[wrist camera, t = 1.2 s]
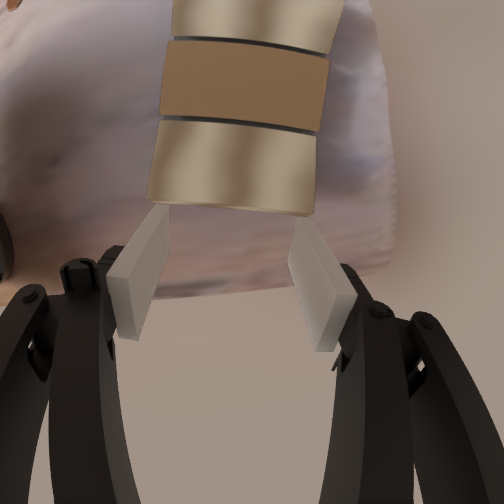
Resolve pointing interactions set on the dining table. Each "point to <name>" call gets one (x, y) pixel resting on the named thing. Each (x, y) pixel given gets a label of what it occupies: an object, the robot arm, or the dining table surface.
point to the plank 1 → (261, 21)
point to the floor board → (244, 83)
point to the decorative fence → (12, 4)
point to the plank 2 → (233, 168)
